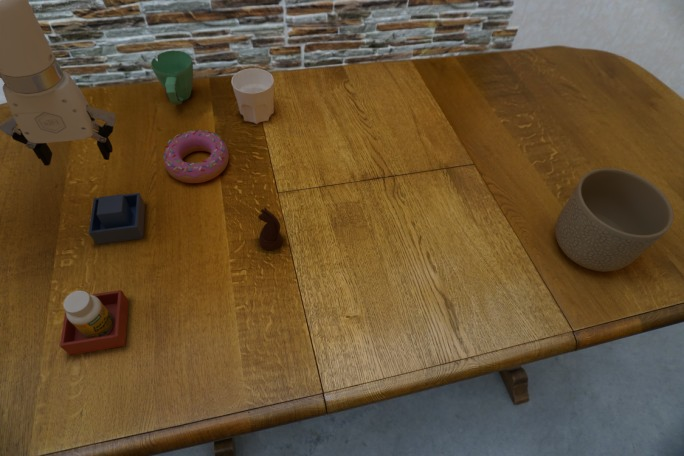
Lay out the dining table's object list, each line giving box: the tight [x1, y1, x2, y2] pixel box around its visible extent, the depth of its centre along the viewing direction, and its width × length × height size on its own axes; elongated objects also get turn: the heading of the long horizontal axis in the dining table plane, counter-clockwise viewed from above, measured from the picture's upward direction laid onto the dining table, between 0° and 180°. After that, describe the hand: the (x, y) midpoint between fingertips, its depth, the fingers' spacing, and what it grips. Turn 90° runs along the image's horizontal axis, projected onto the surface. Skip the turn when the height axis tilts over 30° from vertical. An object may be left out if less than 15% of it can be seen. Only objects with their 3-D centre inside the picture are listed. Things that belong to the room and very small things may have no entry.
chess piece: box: [257, 207, 283, 251], centre depth 91 cm, size 5×5×10 cm
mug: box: [150, 49, 194, 105], centre depth 116 cm, size 15×10×10 cm
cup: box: [230, 67, 275, 125], centre depth 114 cm, size 10×10×10 cm
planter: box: [554, 167, 675, 273], centre depth 91 cm, size 17×17×15 cm
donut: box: [162, 129, 230, 184], centre depth 105 cm, size 14×14×5 cm
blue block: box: [97, 193, 133, 229], centre depth 93 cm, size 5×5×6 cm
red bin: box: [59, 289, 130, 356], centre depth 80 cm, size 9×9×4 cm
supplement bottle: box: [62, 290, 114, 339], centre depth 78 cm, size 5×5×10 cm
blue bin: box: [88, 192, 146, 246], centre depth 94 cm, size 9×9×4 cm
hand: (78, 157), depth 81 cm, fingers open, 9 cm apart
